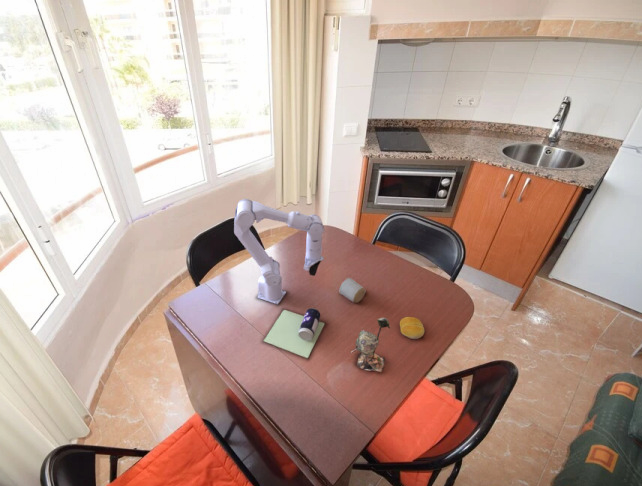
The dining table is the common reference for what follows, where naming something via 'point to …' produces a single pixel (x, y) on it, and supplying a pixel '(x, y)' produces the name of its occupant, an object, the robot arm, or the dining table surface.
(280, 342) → the mat
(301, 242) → the dining table surface
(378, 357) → the grey figurine
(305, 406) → the dining table surface
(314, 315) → the beverage can
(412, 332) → the bread roll
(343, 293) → the white cylinder
